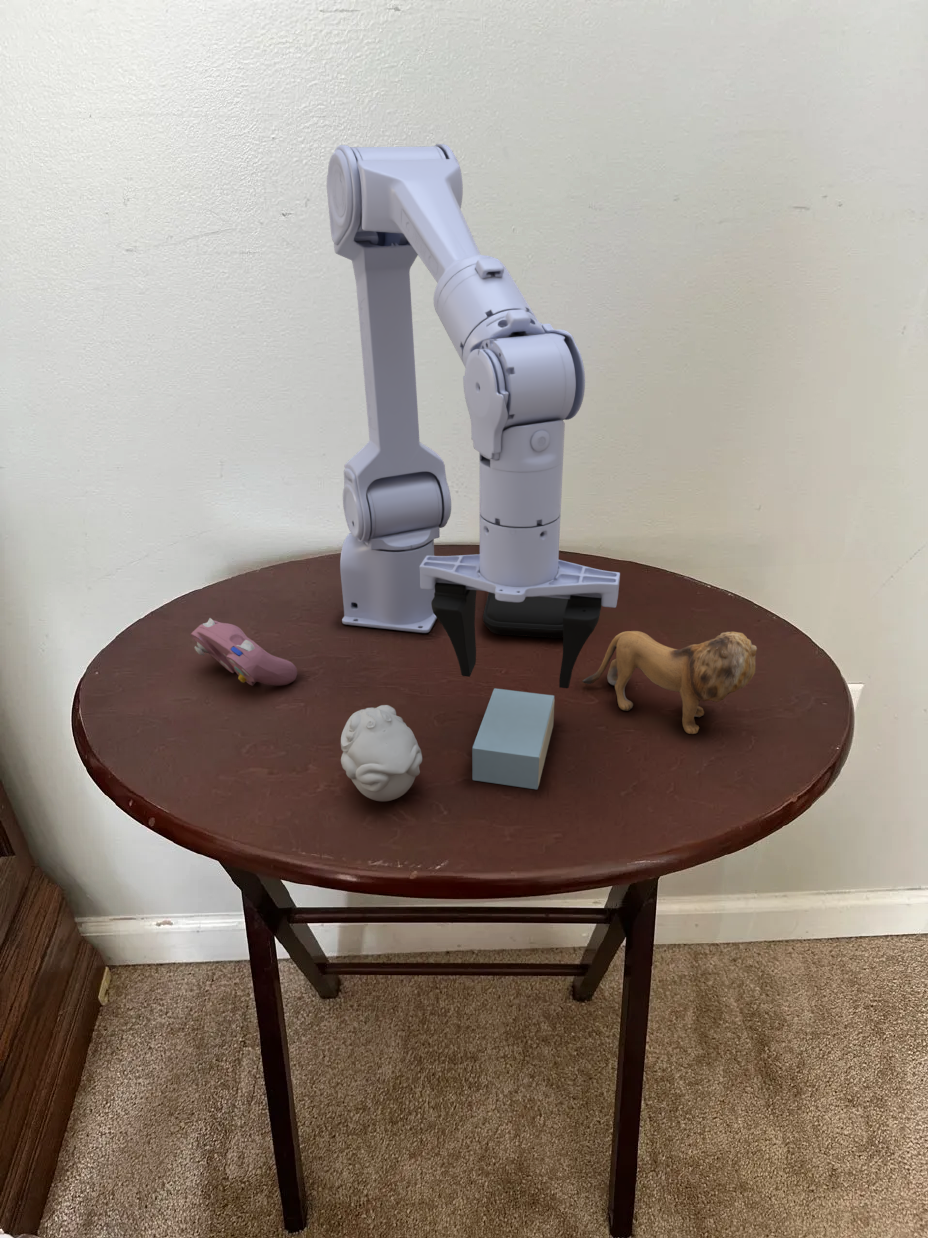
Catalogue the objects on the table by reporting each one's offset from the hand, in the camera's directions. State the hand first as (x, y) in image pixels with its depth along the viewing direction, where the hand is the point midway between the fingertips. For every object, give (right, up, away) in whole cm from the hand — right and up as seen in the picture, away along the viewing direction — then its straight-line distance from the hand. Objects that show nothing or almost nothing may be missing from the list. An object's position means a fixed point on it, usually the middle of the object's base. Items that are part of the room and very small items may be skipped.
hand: (516, 675), depth 66 cm
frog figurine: (-10, -9, 0) cm, 14 cm away
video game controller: (-25, -1, +14) cm, 29 cm away
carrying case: (+4, +5, +25) cm, 26 cm away
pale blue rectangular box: (0, -7, +4) cm, 8 cm away
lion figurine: (+14, -4, +9) cm, 17 cm away
